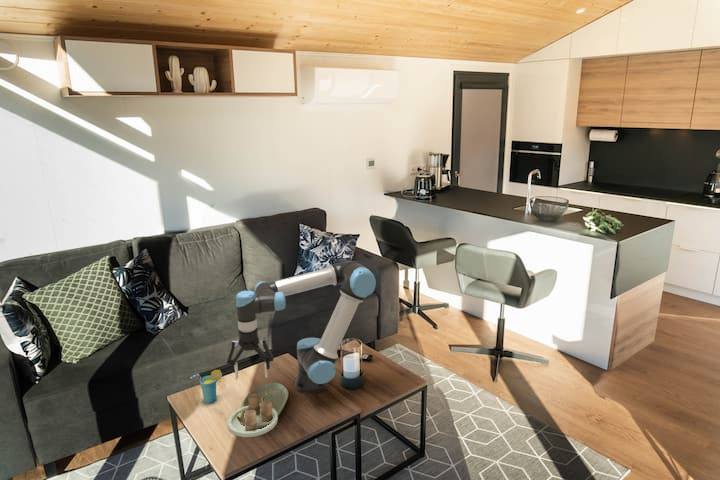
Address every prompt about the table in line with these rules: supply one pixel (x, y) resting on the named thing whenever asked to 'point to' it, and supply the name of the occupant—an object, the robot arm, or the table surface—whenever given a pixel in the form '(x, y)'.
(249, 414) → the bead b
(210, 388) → the cup
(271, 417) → the brown rounded cylinder
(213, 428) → the table surface
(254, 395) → the brown stubby piece
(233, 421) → the tray
